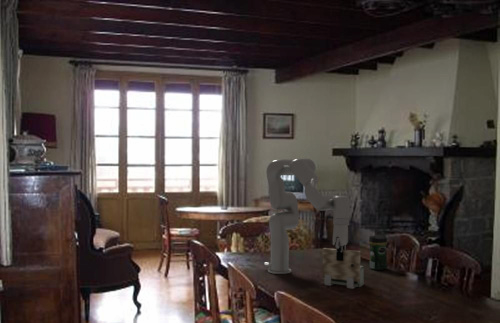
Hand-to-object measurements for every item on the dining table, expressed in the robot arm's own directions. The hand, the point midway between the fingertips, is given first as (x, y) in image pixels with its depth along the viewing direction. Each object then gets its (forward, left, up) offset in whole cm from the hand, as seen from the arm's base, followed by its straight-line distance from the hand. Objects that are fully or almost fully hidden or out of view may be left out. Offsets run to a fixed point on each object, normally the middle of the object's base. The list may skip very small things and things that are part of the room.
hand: (340, 259), depth 254 cm
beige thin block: (0, 0, -9) cm, 9 cm away
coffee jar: (+6, +47, -13) cm, 49 cm away
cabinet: (0, +3, -13) cm, 13 cm away
